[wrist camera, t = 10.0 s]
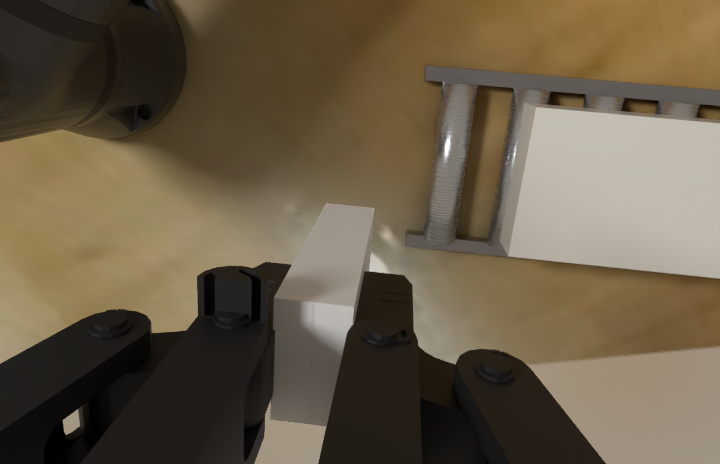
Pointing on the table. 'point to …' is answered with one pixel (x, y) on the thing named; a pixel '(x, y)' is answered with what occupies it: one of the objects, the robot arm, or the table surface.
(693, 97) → the roller bed
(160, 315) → the table surface
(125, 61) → the robot arm
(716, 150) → the slab
